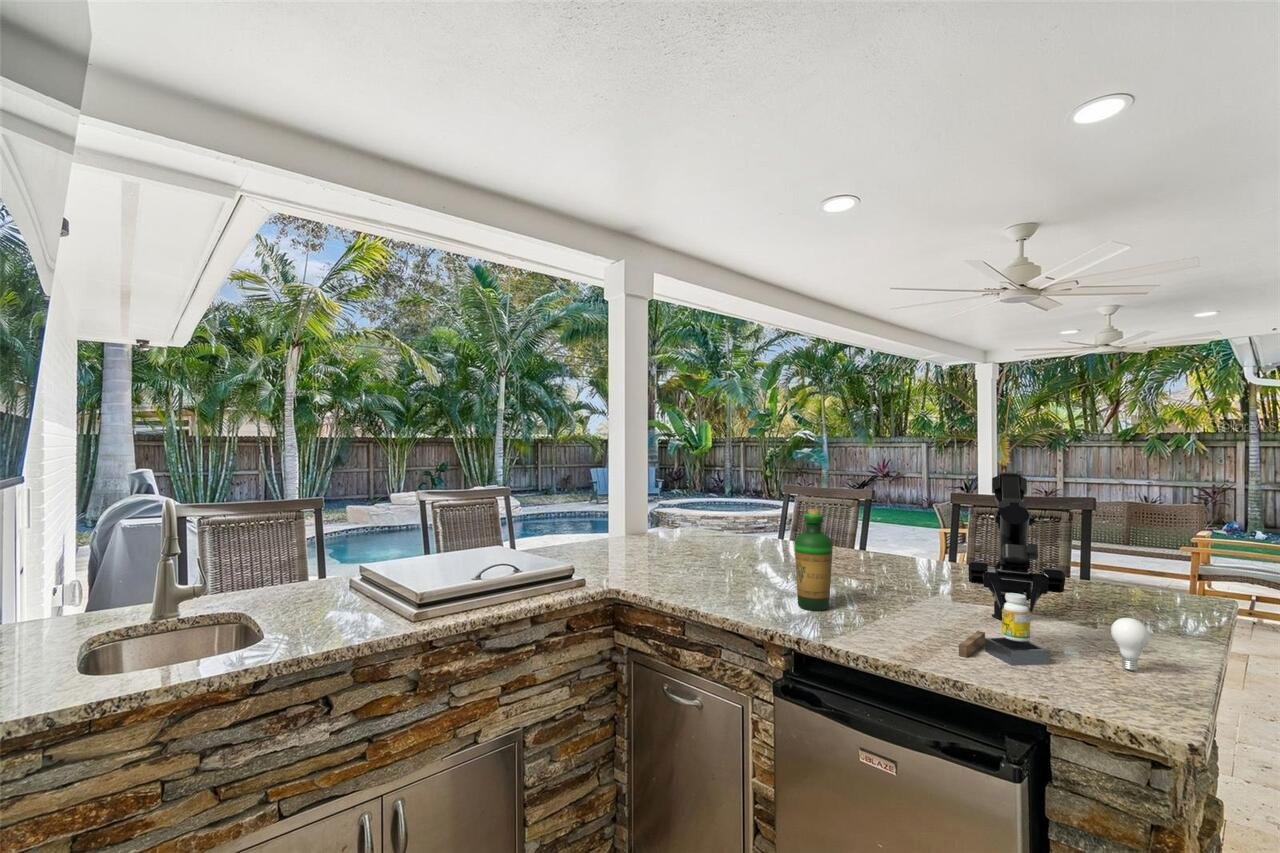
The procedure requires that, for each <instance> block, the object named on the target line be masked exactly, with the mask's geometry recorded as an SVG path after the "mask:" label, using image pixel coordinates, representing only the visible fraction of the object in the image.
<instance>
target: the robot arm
mask: <svg viewBox="0 0 1280 853" xmlns="http://www.w3.org/2000/svg"><path fill="white" fill-rule="evenodd" d="M991 494H994V501H995V503H996V505H997V509H994V524H995V525H997V529H999V561H998V562H997V564H996V565H995V566H990V565H989V566H988V563H989V562H988V561H987V562H986V561H978V560H977V561H976V560H970V561H969V562H968V569H967V570H968V582H969V583H971V584H976V585H977V584H978V585H983V587H984V588H987V589H988V590H990V592H991V593H992V597H993V598H995V600H994V602H993V603H994V604H993V609H994V611H993V613H991V617H993V618H995V619H997V620H999V621H1002V605H1003V603H1005V602H1007V601H1006V599H1005V594H1006V593H1017V594H1022V595H1025V596H1026V601H1029V608H1030V613H1033V611H1034V609H1035V607H1036V605H1037V601H1038V600H1039V599H1040V597H1042V595H1046V594H1048V592H1049V593H1058V594H1061V593H1064V591H1065V584H1066V572H1065V571H1064V570H1062V569H1061V568H1051V567H1050V568H1049V567H1043V569H1042V573H1037V572H1030V569H1031V560H1032V561H1033V560H1035V561H1037V560H1038V559H1039V547H1038V544H1035V543H1028V534H1029V527H1032V526H1033V524H1035V523H1036V518H1035V517H1034V516H1033V514H1032V513H1031V512H1030V511H1029V510H1028V505H1027V503H1025V502H1024V499H1025V498H1024V497H1025V495H1027V494H1028V479H1027V478H1025V477H1023V476H1022V475H1021V474H1020V473H1018V472H1001V473H999V475H996V476H994V477H992V478H991Z"/></svg>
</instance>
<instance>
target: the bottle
mask: <svg viewBox="0 0 1280 853" xmlns="http://www.w3.org/2000/svg"><path fill="white" fill-rule="evenodd" d="M803 518H804V520H803V522H804V523H805V528H806V529H805V530H804V531H802V532H800V533H799V534H797V536H796V538H795V539H794V555H795V574H796V592H797V593H796V595H797V596H796V597H797V605H798V607H800V608H801V609H803V610H807V611H811V612H812V611H813V612H822V611H826V610H827V609H829V608H830V598H831V597H830V595H831V582H832V581H831V579H832V564H833V552H834V550H833V549H834V548H833V547H834V542H833V541H832V539H831V538H830V536H828V535H827V534H826V533H825V532H824V531H822V524H823V523H824V518H823V514H822V513H820V509H819V508H808V509H807V513H805V514H804V517H803Z"/></svg>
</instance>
